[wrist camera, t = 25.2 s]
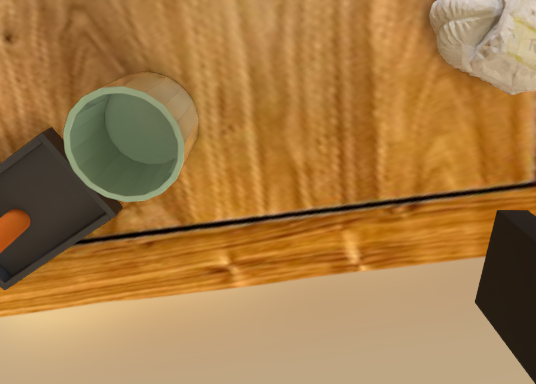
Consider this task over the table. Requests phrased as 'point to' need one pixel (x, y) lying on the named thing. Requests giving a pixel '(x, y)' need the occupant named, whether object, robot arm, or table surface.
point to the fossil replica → (489, 40)
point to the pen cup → (131, 136)
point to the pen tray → (46, 205)
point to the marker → (12, 226)
